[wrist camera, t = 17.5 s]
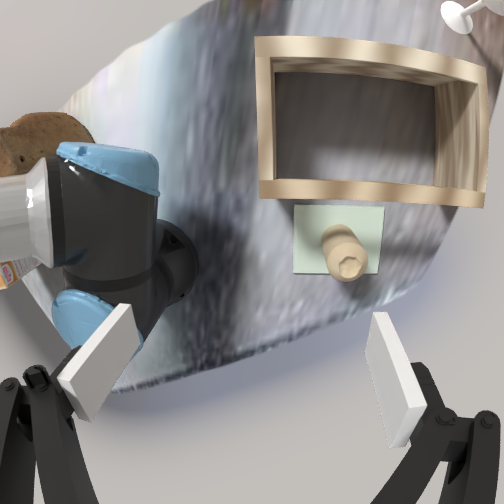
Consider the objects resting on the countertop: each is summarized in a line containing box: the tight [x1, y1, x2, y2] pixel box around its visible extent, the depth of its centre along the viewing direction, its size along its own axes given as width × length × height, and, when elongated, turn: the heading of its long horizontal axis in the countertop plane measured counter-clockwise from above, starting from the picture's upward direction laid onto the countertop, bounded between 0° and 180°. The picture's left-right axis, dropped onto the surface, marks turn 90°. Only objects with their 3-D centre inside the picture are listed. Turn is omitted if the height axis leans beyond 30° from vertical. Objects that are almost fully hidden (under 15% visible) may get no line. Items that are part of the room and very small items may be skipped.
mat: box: [293, 204, 384, 274], centre depth 47 cm, size 14×11×1 cm
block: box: [0, 112, 93, 177], centre depth 36 cm, size 11×8×20 cm
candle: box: [321, 224, 368, 282], centre depth 42 cm, size 6×6×10 cm
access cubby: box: [255, 36, 489, 208], centre depth 34 cm, size 28×18×13 cm, turn 91°
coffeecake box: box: [0, 257, 42, 290], centre depth 44 cm, size 15×7×20 cm, turn 102°
